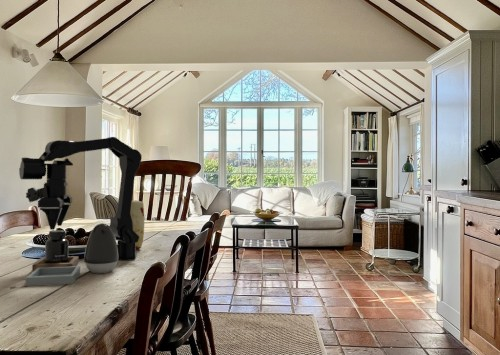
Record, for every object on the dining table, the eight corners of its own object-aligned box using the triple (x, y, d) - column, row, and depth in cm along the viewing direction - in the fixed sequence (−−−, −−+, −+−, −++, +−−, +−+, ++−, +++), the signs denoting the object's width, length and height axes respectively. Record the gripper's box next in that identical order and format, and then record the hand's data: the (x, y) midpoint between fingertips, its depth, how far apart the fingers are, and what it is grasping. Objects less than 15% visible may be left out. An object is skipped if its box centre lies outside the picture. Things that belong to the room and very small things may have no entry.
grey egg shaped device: (85, 277, 122) (86, 226, 122) (82, 269, 131) (83, 222, 131) (121, 273, 127) (122, 224, 127) (115, 266, 136) (116, 220, 136)
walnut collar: (78, 263, 140) (78, 256, 140) (72, 271, 128) (72, 263, 128) (41, 264, 137) (42, 257, 137) (32, 272, 126) (32, 264, 126)
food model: (117, 251, 162) (118, 200, 162) (119, 248, 168) (120, 199, 168) (143, 250, 164) (144, 200, 163) (144, 247, 170) (145, 199, 170)
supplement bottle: (58, 271, 129) (59, 232, 128) (39, 269, 130) (40, 231, 130) (72, 266, 135) (73, 230, 135) (54, 265, 137) (54, 229, 137)
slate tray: (80, 273, 126) (80, 266, 126) (73, 283, 115) (73, 275, 115) (37, 274, 124) (37, 267, 124) (25, 285, 112) (25, 277, 112)
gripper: (37, 178, 141) (37, 224, 141) (19, 179, 122) (19, 232, 122) (72, 179, 143) (72, 223, 143) (59, 180, 125) (59, 231, 125)
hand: (56, 227), depth 133 cm, fingers open, 9 cm apart
